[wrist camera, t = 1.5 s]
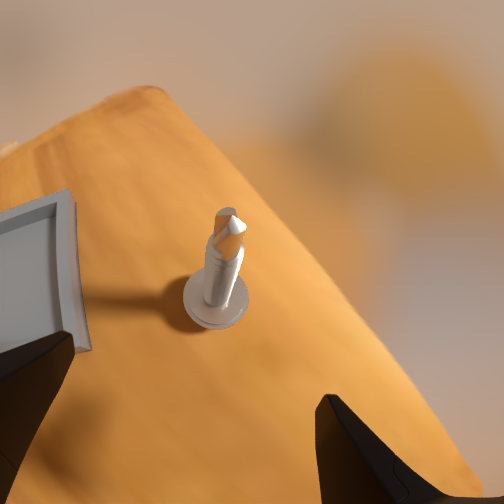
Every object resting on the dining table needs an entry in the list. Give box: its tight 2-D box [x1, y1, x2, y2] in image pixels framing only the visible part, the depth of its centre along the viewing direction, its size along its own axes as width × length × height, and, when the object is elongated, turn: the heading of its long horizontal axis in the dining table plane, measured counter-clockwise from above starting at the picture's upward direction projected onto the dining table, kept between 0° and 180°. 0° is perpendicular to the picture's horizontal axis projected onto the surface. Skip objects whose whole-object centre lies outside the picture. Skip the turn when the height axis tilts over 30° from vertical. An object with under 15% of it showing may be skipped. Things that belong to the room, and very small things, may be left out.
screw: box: [183, 207, 249, 330], centre depth 17 cm, size 13×5×5 cm
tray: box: [0, 189, 92, 354], centre depth 18 cm, size 16×14×2 cm
